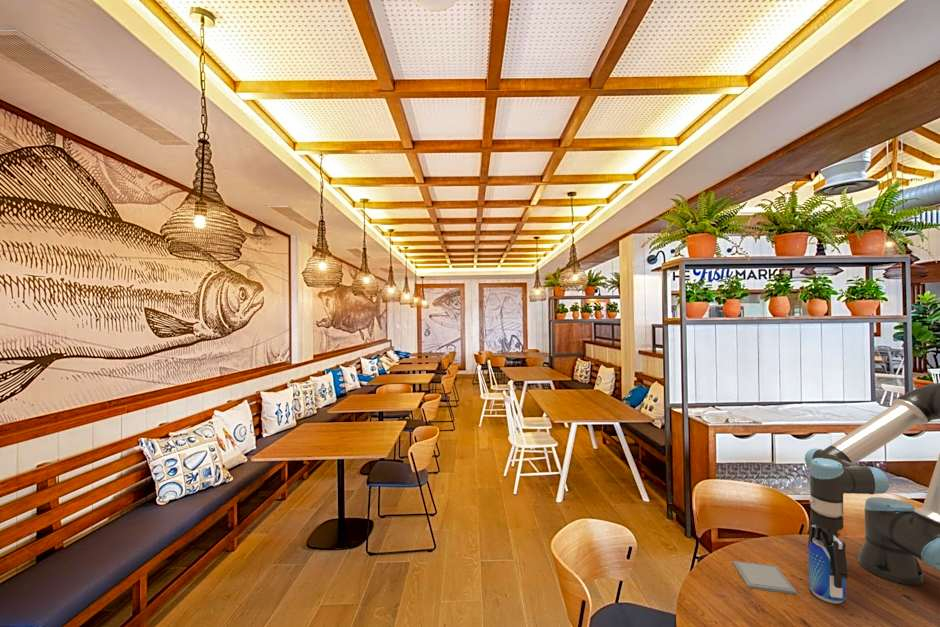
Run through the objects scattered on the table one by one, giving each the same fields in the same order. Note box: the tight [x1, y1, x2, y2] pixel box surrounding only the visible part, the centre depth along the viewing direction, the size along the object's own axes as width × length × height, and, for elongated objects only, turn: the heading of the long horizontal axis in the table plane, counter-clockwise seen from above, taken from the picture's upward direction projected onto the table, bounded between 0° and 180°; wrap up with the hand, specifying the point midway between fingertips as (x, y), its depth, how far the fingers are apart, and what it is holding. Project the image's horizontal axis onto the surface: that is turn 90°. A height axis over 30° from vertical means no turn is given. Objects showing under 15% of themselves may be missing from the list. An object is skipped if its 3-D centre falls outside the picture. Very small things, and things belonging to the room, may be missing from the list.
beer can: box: [808, 538, 847, 605], centre depth 124 cm, size 8×8×16 cm
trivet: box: [732, 560, 798, 596], centre depth 133 cm, size 13×13×1 cm
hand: (826, 586), depth 124 cm, fingers closed on beer can, 8 cm apart
